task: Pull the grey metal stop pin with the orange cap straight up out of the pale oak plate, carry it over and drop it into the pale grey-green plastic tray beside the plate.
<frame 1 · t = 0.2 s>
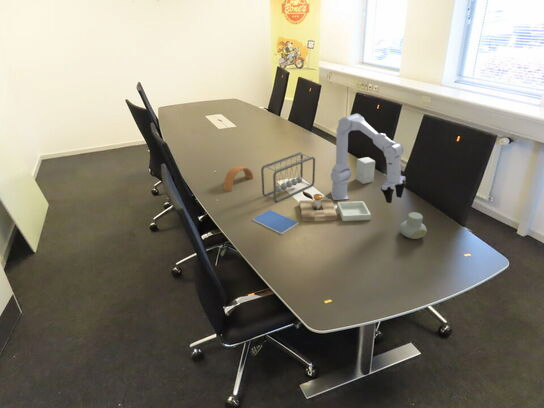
hand: (393, 199, 162), 11 cm above the table, tool pointing down, fingers open, 7 cm apart
arch: (238, 184, 206), on the table
tablet computer: (275, 223, 169), on the table
supplement box: (364, 180, 204), on the table
newton's cradle: (289, 191, 196), on the table
pin plate: (317, 212, 175), on the table
air freshener: (411, 235, 156), on the table
tray: (353, 213, 172), on the table
stop pin: (317, 204, 173), in the pin plate
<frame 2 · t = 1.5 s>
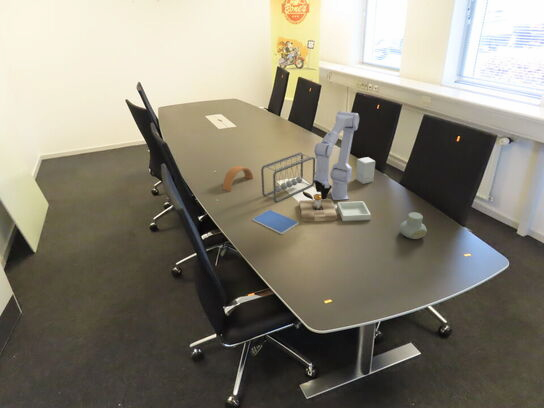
hand: (321, 195, 168), 10 cm above the table, tool pointing down, fingers open, 7 cm apart
nothing on the table moved.
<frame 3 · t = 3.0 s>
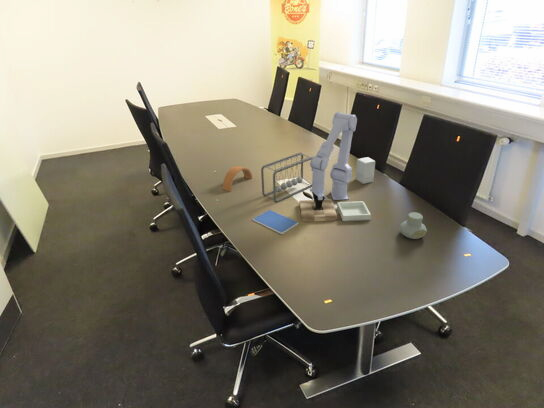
hand: (317, 206, 173), 3 cm above the table, tool pointing down, fingers closed on stop pin, 4 cm apart
stop pin: (317, 204, 173), in the pin plate, touching gripper
everything else where it was.
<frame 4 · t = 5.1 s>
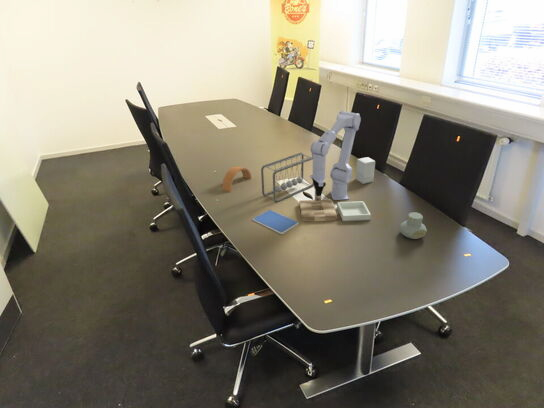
hand: (318, 193, 170), 10 cm above the table, tool pointing down, fingers closed on stop pin, 4 cm apart
stop pin: (318, 191, 169), point 12 cm above the table, touching gripper
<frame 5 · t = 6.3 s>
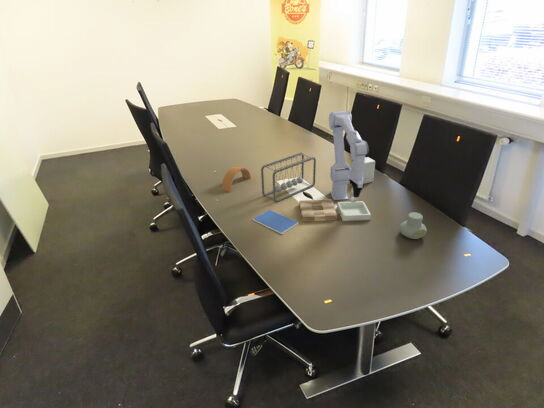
hand: (354, 194, 167), 10 cm above the table, tool pointing down, fingers closed on stop pin, 4 cm apart
stop pin: (354, 192, 167), point 11 cm above the table, tilted 5°, touching gripper
when the fingers open (6 cm above the table, at t = 7.4 s): stop pin drops 2 cm, resting on tray.
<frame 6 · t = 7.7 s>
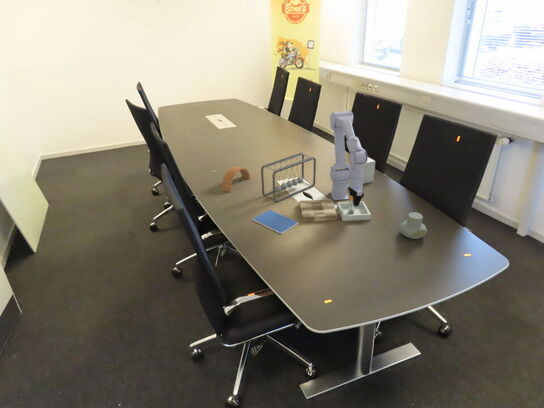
hand: (354, 202, 169), 6 cm above the table, tool pointing down, fingers open, 7 cm apart
stop pin: (352, 204, 170), in the tray
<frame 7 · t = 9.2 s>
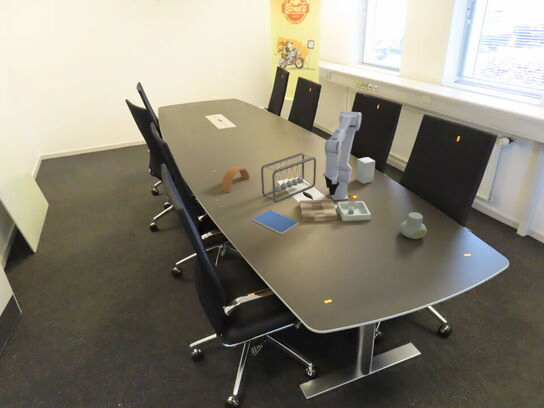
hand: (330, 191, 171), 10 cm above the table, tool pointing down, fingers open, 7 cm apart
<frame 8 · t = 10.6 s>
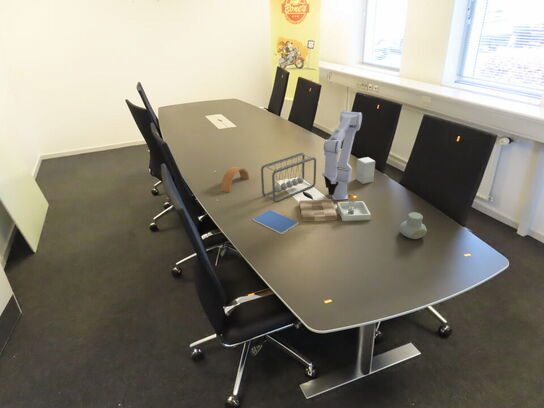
hand: (329, 191, 171), 10 cm above the table, tool pointing down, fingers open, 7 cm apart
at the end: stop pin inside the target area on the tray (0.9 cm from its centre), point 5.0 cm above the tray's base; the gripper is holding nothing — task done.
